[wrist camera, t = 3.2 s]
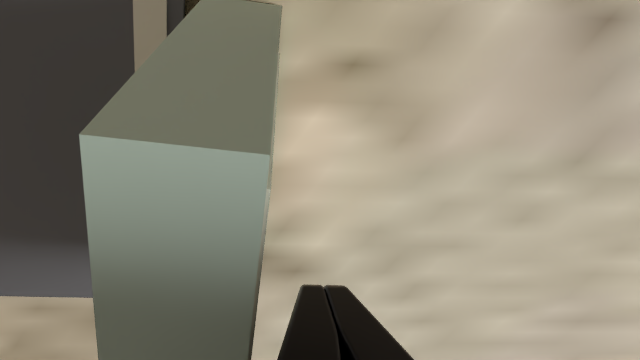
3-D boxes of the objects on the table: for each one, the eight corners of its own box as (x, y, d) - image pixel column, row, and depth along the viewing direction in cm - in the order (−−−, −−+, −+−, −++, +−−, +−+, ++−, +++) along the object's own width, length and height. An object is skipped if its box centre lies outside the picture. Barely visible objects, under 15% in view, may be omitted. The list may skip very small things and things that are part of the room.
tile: (258, 249, 17) (230, 544, 9) (196, 244, 17) (114, 543, 9) (284, 6, 13) (276, 156, 6) (205, -6, 13) (79, 134, 5)
